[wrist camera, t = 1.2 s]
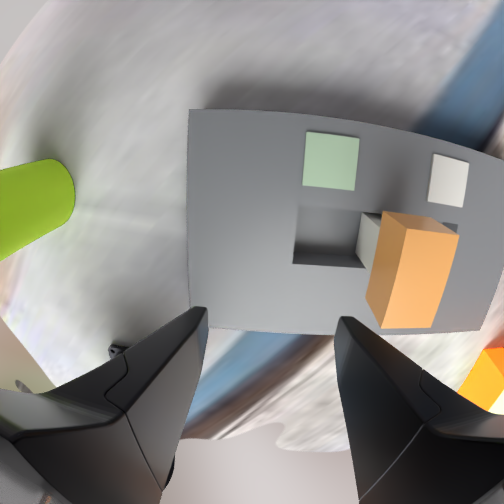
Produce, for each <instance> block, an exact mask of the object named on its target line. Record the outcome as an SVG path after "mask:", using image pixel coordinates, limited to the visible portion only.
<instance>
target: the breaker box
mask: <svg viewBox="0 0 504 504" xmlns="http://www.w3.org/2000/svg"><path fill="white" fill-rule="evenodd" d="M383 211H388V212H395V213H403V214H411V215H418V216H425V217H431V218H432V219H434V220H436V221H437V222H439V223H441V224H442V225H444V226H446V227H447V228H449V229H450V230H452V231H454V232H455V233H457V234H458V235H459V239H458V243H457V247H456V251H455V255H454V259H453V262H452V266H451V269H450V273H449V276H448V279H447V282H446V286H445V289H444V292H443V295H442V298H441V301H440V303H439V306H438V309H437V312H436V314H435V317H434V320H433V322H432V325H431V328H390V329H381V328H380V326H379V324H378V322H377V320H376V318H375V316H374V314H373V312H372V310H371V308H370V306H369V304H368V302H367V301H366V299H365V296H366V292H367V288H368V283H369V279H370V274H369V272H368V271H367V269H366V268H365V266H364V265H363V263H362V262H361V260H360V259H359V257H358V256H357V254H356V253H355V251H356V245H357V240H358V234H359V228H360V221H361V215H362V212H366V213H375V214H382V213H383ZM187 251H188V280H189V300H190V308H192V307H194V306H201V307H206V308H207V309H208V327H212V328H222V329H233V330H245V331H259V332H274V333H293V334H318V335H335V332H336V328H337V324H338V320H339V318H340V317H341V316H353V317H354V318H356V319H357V320H358V321H360V322H361V323H363V324H364V325H365V326H367V327H368V328H369V329H371V330H372V331H373V332H375V333H376V334H377V335H410V334H434V333H451V332H464V331H476V330H480V328H481V326H482V324H483V322H484V319H485V317H486V315H487V312H488V310H489V307H490V305H491V302H492V299H493V297H494V294H495V291H496V289H497V286H498V283H499V280H500V277H501V274H502V271H503V268H504V160H501V159H498V158H496V157H493V156H490V155H487V154H485V153H482V152H479V151H476V150H473V149H470V148H467V147H464V146H460V145H457V144H454V143H451V142H447V141H444V140H440V139H436V138H433V137H429V136H425V135H421V134H417V133H413V132H409V131H404V130H400V129H395V128H391V127H386V126H381V125H376V124H370V123H365V122H359V121H353V120H347V119H340V118H333V117H326V116H318V115H309V114H300V113H289V112H276V111H261V110H236V109H189V120H188V148H187Z"/></svg>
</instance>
